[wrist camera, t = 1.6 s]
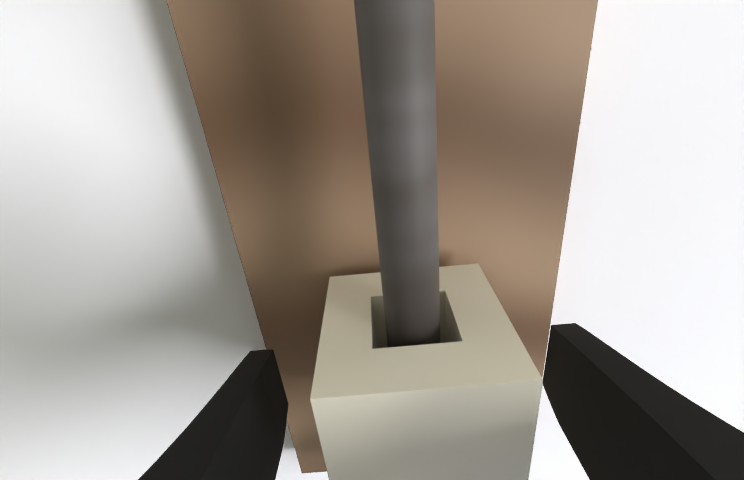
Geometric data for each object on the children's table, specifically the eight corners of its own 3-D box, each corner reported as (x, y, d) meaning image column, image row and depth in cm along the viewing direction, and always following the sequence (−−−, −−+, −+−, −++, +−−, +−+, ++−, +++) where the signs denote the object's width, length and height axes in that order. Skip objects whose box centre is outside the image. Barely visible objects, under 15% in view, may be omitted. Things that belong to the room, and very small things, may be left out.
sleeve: (473, 385, 12) (521, 526, 8) (349, 394, 12) (343, 539, 8) (478, 263, 10) (543, 379, 6) (329, 277, 10) (310, 399, 6)
